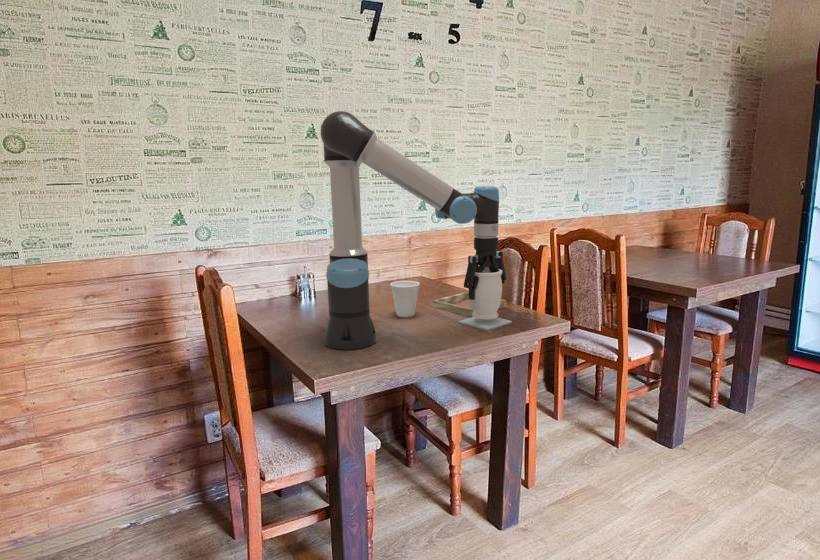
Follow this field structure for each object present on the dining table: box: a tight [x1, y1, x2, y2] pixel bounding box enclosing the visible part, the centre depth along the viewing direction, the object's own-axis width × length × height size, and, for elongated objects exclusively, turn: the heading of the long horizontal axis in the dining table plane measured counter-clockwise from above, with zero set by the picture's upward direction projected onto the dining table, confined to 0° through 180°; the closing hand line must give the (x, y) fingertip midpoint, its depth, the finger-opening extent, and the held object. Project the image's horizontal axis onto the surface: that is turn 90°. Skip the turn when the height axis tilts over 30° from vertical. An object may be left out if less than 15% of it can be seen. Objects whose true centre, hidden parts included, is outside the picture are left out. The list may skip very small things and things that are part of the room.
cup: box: [389, 280, 421, 318], centre depth 186 cm, size 10×10×11 cm
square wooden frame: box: [431, 291, 507, 318], centre depth 196 cm, size 18×18×2 cm
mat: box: [458, 316, 513, 332], centre depth 176 cm, size 12×12×1 cm
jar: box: [472, 267, 503, 319], centre depth 174 cm, size 11×10×15 cm
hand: (485, 306), depth 175 cm, fingers closed on jar, 10 cm apart
